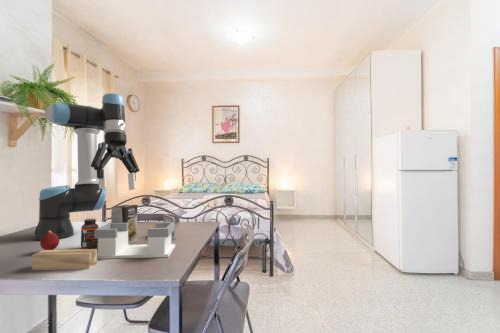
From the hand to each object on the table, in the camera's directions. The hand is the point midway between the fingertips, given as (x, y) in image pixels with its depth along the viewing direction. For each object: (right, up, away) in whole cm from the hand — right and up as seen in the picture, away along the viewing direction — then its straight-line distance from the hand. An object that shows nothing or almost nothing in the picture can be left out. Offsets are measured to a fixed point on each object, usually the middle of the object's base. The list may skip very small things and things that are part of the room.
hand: (118, 188), depth 100 cm
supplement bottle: (-16, -24, +9) cm, 31 cm away
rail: (-11, -24, -12) cm, 29 cm away
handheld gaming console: (+8, -25, +25) cm, 36 cm away
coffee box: (-5, -25, +15) cm, 29 cm away
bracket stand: (+6, -24, +3) cm, 25 cm away
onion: (-28, -24, +3) cm, 37 cm away
